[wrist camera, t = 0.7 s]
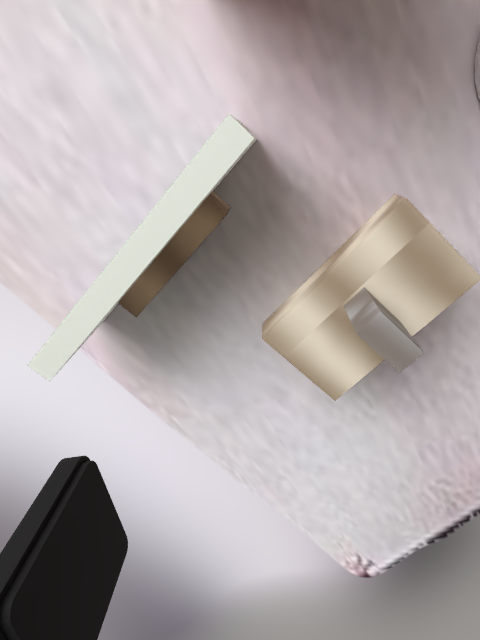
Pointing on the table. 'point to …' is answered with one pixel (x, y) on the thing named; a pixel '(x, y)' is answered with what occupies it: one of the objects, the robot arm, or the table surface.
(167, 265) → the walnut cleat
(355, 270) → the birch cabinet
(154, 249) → the wall board
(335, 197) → the table surface
